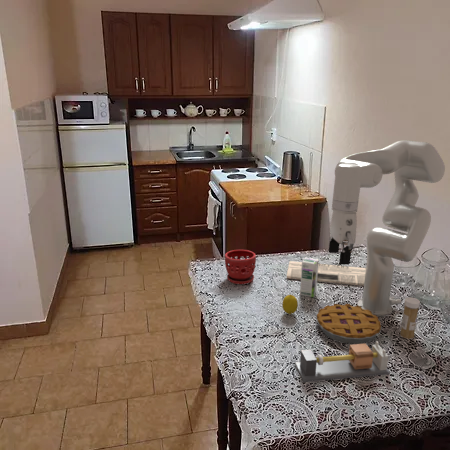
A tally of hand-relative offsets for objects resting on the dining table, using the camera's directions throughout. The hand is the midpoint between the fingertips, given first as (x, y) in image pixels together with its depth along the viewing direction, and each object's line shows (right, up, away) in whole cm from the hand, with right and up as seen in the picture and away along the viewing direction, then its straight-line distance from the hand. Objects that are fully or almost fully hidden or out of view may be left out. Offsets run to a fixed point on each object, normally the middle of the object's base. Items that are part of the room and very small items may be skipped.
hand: (338, 258), depth 134 cm
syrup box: (-2, -17, +38) cm, 42 cm away
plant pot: (-29, -13, +50) cm, 59 cm away
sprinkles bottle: (+25, -27, +10) cm, 38 cm away
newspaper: (+11, -12, +56) cm, 59 cm away
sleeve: (+4, -31, -7) cm, 32 cm away
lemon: (-12, -22, +23) cm, 34 cm away
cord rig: (-1, -32, -8) cm, 33 cm away
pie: (+7, -26, +14) cm, 30 cm away
